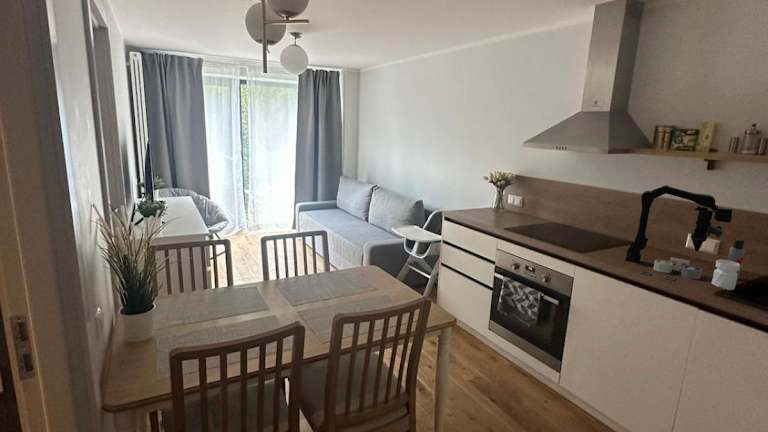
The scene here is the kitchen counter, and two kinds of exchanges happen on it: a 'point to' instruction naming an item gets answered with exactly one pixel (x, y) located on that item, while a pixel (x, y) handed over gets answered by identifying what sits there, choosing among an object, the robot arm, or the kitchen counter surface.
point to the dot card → (678, 263)
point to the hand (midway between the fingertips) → (697, 249)
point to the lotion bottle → (737, 253)
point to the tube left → (663, 266)
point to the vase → (725, 274)
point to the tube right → (691, 272)
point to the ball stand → (664, 277)
